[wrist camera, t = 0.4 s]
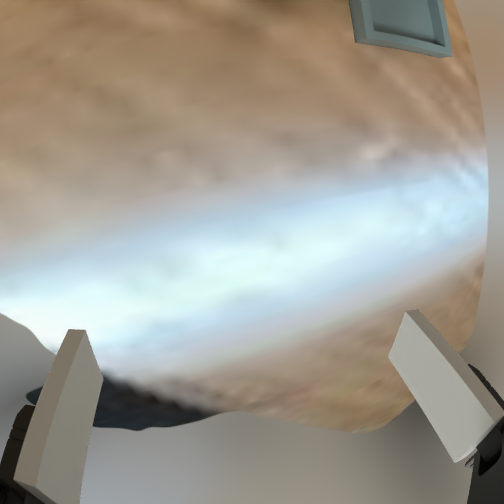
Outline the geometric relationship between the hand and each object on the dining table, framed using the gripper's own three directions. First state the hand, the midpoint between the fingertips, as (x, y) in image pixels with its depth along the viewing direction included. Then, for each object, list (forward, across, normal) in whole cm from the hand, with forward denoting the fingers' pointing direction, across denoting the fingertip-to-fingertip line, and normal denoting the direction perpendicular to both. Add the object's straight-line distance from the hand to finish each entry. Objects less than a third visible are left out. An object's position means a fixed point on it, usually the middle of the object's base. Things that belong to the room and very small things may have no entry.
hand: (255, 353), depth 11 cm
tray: (+27, +22, +28) cm, 45 cm away
